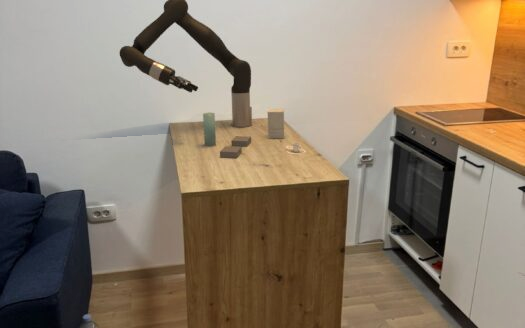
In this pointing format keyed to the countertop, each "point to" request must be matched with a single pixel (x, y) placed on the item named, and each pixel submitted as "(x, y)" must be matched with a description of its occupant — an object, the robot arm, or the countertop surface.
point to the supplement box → (276, 123)
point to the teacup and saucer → (295, 148)
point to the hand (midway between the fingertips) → (194, 89)
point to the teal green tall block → (209, 129)
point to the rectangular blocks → (235, 151)
